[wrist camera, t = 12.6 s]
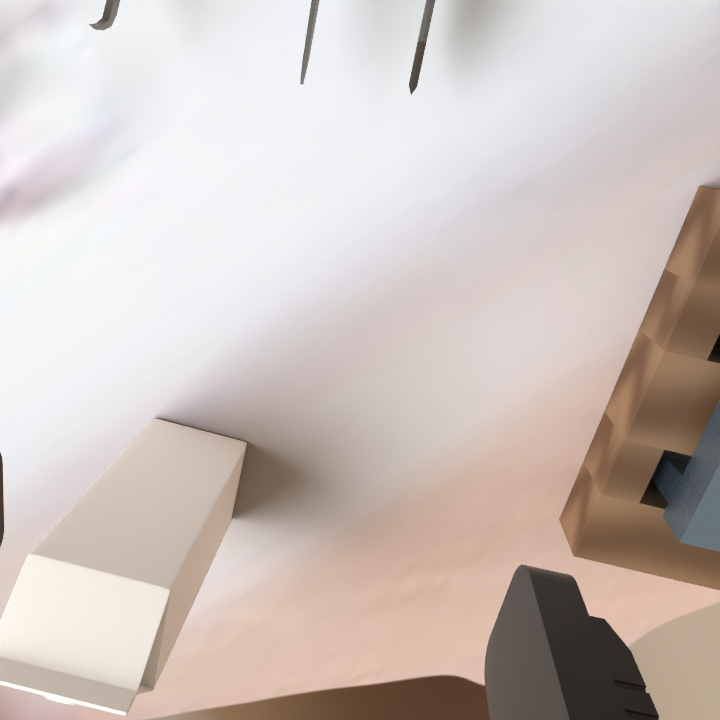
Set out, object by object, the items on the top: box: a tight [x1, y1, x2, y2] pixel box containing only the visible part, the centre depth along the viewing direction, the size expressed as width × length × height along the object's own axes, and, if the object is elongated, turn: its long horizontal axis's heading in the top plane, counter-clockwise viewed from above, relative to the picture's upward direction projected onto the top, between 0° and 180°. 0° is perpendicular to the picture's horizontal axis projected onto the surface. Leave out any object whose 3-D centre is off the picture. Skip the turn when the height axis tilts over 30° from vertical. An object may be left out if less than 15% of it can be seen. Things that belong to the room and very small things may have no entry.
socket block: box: [559, 186, 720, 590], centre depth 37 cm, size 24×10×4 cm, turn 167°
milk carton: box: [0, 418, 247, 715], centre depth 35 cm, size 7×7×19 cm
